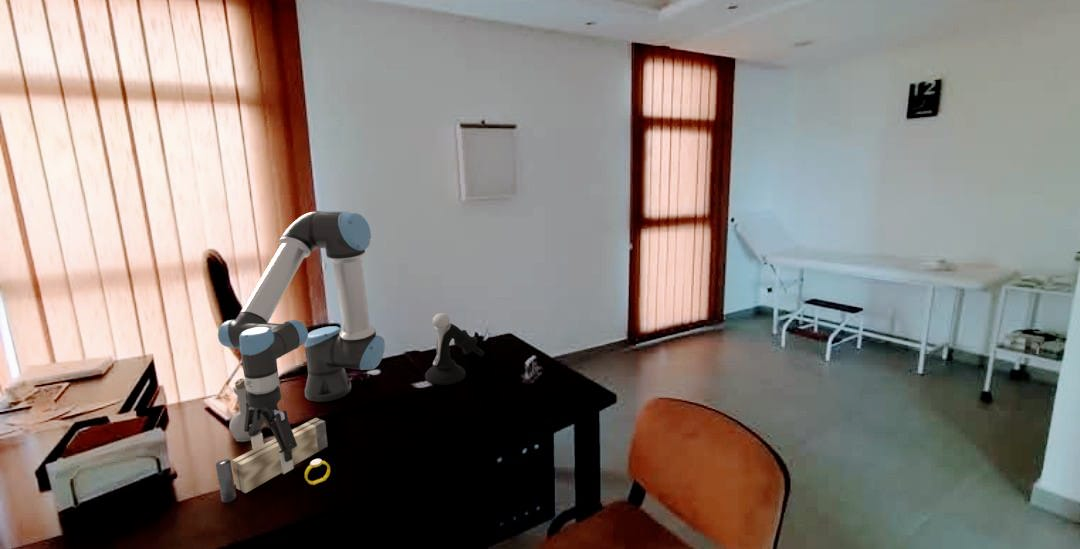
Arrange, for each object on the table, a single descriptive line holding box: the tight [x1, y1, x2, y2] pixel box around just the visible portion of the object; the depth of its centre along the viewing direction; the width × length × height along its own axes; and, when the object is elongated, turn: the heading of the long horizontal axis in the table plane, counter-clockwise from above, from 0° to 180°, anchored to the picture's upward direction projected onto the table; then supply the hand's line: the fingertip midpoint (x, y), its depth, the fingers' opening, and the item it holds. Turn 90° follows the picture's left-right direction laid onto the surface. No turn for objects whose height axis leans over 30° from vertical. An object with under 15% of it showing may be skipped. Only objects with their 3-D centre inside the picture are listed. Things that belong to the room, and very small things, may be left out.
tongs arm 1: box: [231, 417, 321, 491], centre depth 138 cm, size 24×2×8 cm, turn 150°
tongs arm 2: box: [238, 419, 329, 494], centre depth 137 cm, size 24×2×8 cm, turn 150°
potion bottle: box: [228, 377, 263, 443], centre depth 151 cm, size 9×9×18 cm
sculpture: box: [424, 312, 486, 386], centre depth 193 cm, size 15×24×25 cm, turn 120°
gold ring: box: [304, 458, 331, 486], centre depth 131 cm, size 6×3×6 cm, turn 129°
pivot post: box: [215, 458, 237, 504], centre depth 124 cm, size 3×3×10 cm
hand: (273, 463), depth 135 cm, fingers open, 11 cm apart
